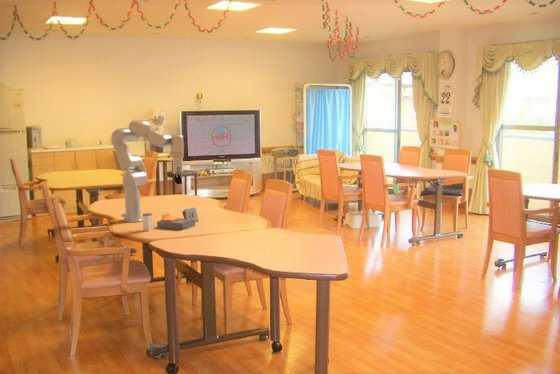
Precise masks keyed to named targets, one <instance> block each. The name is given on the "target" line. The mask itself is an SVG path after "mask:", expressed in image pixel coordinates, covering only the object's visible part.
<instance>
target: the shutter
mask: <svg viewBox="0 0 560 374" xmlns="http://www.w3.org/2000/svg"><path fill="white" fill-rule="evenodd" d="M180 218H181V217H176V216H170V213H167V212H166V213H164V214H161V218H160V220H161V221H175V220H178V219H180Z"/></svg>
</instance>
